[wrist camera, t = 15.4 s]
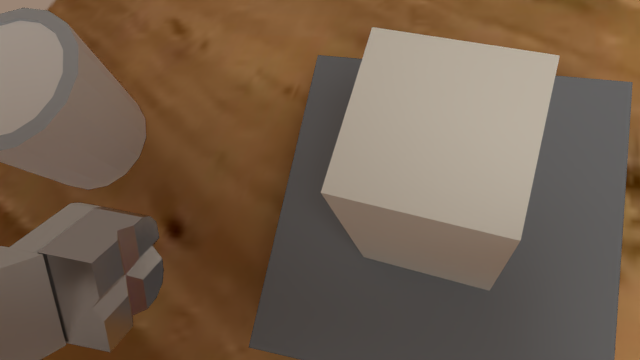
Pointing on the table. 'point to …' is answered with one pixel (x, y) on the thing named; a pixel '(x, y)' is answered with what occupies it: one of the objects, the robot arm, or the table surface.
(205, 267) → the table surface
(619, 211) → the slate block
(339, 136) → the cream block
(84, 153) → the white cylinder
